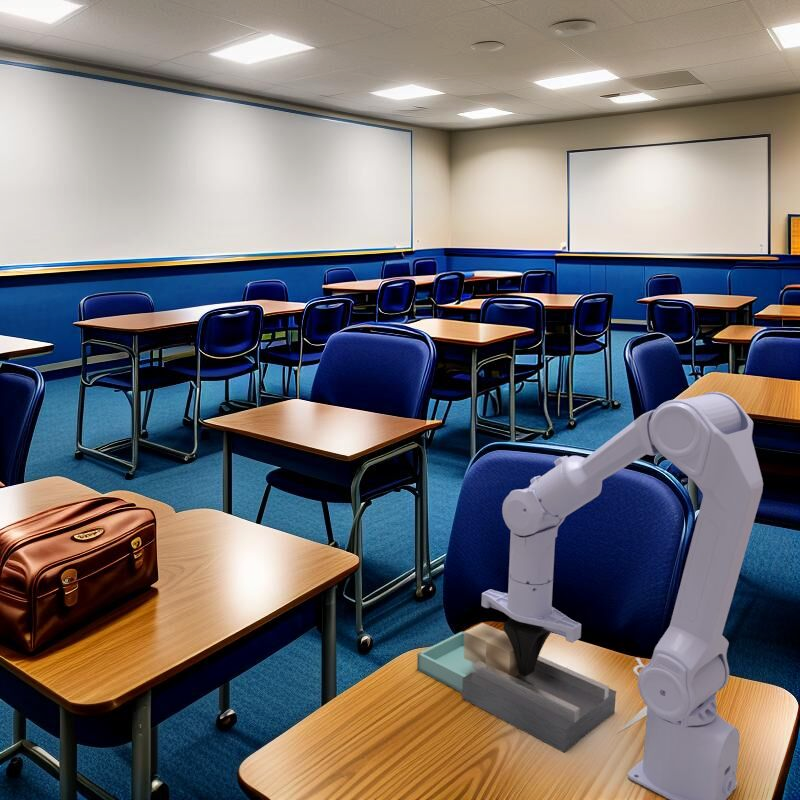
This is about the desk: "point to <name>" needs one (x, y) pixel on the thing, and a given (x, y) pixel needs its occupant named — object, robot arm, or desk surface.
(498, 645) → the block
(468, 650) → the block
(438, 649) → the tray
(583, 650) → the desk surface
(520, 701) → the slot board
